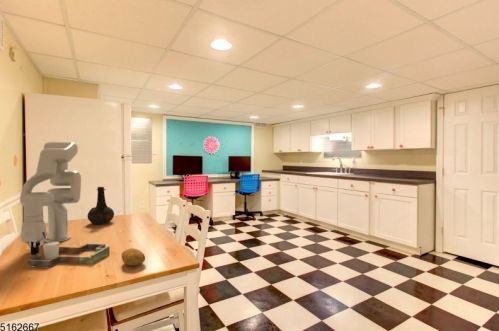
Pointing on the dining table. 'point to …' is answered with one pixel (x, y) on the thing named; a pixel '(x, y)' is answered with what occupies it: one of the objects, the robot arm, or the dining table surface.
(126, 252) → the potato
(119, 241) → the dining table surface
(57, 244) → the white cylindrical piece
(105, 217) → the glass bottle
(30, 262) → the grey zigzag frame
